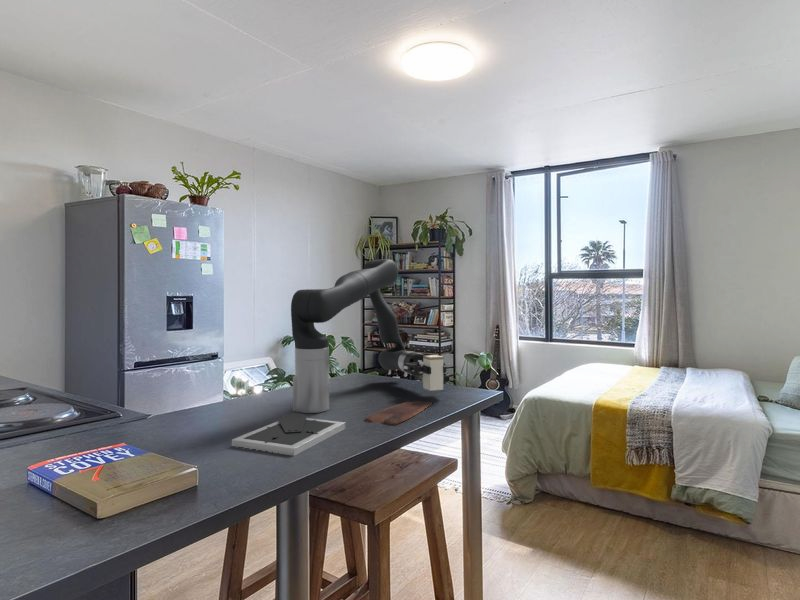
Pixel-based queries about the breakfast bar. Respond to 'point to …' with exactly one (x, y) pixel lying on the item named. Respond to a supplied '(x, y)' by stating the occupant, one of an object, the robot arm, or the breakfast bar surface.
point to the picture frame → (289, 434)
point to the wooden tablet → (398, 413)
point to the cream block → (433, 372)
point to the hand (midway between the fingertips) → (437, 370)
